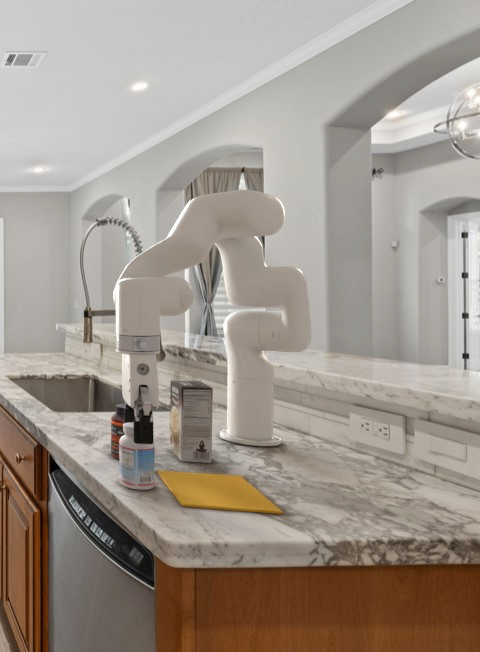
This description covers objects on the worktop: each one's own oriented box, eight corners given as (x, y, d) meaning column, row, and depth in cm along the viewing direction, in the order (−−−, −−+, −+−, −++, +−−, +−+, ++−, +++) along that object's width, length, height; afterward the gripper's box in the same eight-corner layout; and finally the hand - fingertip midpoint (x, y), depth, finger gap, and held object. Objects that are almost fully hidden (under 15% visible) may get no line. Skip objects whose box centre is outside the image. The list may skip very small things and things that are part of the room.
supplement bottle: (104, 455, 120) (104, 404, 120) (124, 452, 122) (125, 402, 122) (125, 463, 114) (125, 409, 114) (146, 459, 117) (146, 407, 117)
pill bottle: (152, 481, 103) (153, 422, 103) (156, 492, 97) (156, 430, 97) (118, 478, 105) (118, 420, 105) (119, 488, 99) (120, 427, 99)
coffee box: (168, 449, 124) (169, 379, 124) (198, 451, 123) (199, 380, 123) (180, 461, 115) (181, 386, 115) (213, 463, 114) (214, 387, 114)
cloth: (156, 472, 109) (156, 470, 109) (240, 477, 105) (240, 475, 105) (181, 506, 91) (181, 503, 91) (283, 514, 88) (283, 511, 88)
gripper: (171, 350, 91) (171, 450, 92) (149, 340, 108) (149, 425, 109) (124, 349, 93) (124, 448, 94) (109, 340, 110) (109, 423, 111)
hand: (138, 436), depth 101 cm, fingers open, 9 cm apart
